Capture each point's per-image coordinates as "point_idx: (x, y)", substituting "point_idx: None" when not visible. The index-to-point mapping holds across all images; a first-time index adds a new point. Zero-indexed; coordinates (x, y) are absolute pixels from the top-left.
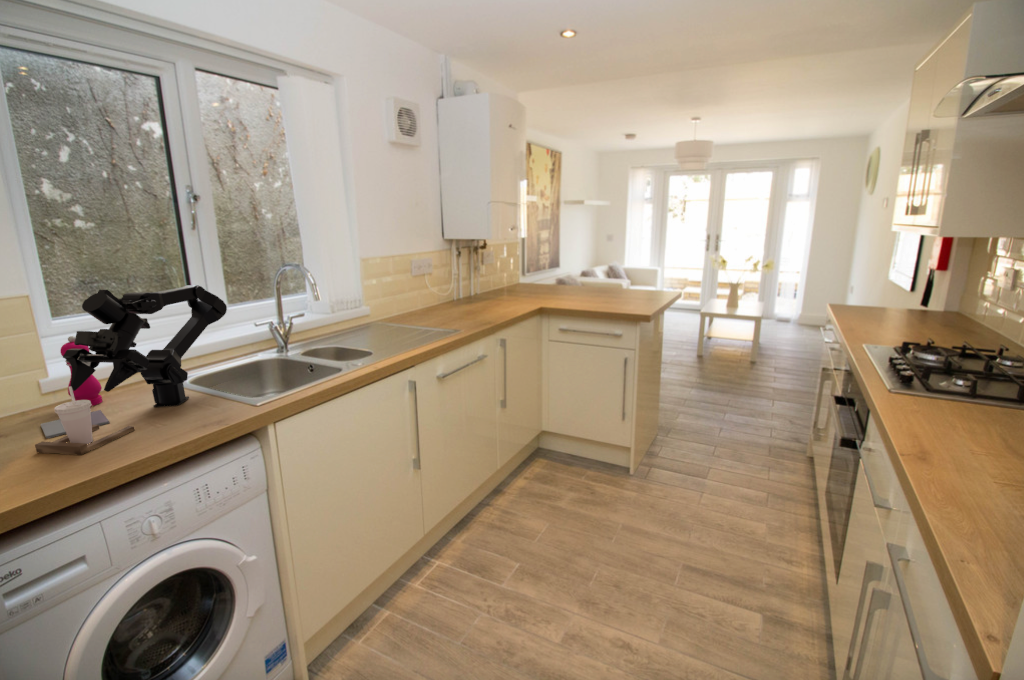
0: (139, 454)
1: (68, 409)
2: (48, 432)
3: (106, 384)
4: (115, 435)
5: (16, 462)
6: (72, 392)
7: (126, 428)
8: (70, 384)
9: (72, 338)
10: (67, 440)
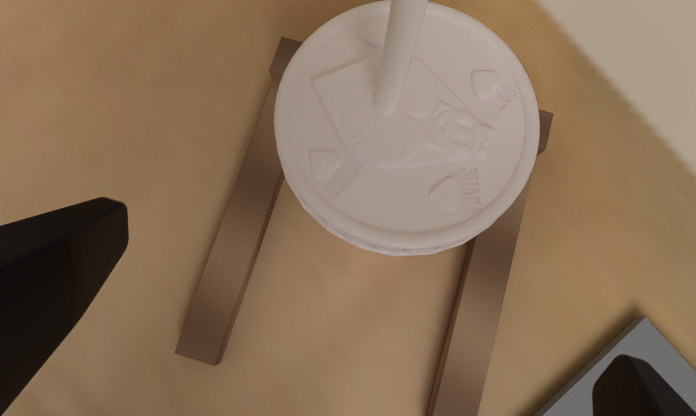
0: (10, 16)
1: (363, 6)
2: (686, 386)
3: (63, 227)
4: (220, 231)
5: (546, 45)
6: (387, 33)
7: (203, 323)
8: (693, 410)
9: None
10: (474, 237)
